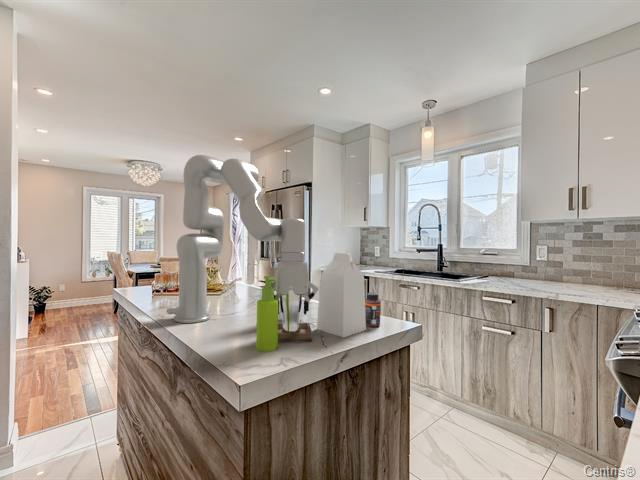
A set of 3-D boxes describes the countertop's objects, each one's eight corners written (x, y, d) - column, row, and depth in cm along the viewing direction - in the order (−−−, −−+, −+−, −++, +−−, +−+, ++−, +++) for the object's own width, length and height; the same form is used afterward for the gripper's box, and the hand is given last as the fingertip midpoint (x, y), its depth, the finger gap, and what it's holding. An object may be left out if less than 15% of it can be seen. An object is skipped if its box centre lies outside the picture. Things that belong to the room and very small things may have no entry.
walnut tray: (271, 342, 93) (271, 333, 93) (272, 330, 105) (272, 322, 105) (311, 341, 95) (312, 333, 95) (308, 330, 107) (309, 322, 107)
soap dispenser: (259, 354, 84) (261, 278, 84) (254, 345, 90) (255, 275, 90) (281, 351, 86) (282, 277, 86) (274, 343, 93) (275, 274, 92)
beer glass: (298, 336, 96) (298, 286, 96) (276, 335, 97) (276, 286, 98) (304, 330, 103) (304, 283, 103) (283, 329, 104) (283, 283, 104)
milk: (365, 330, 108) (367, 253, 107) (343, 337, 99) (344, 254, 99) (339, 323, 116) (340, 252, 116) (316, 329, 108) (318, 252, 108)
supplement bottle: (378, 328, 110) (379, 295, 110) (361, 326, 112) (362, 294, 112) (381, 324, 116) (382, 293, 116) (365, 322, 118) (365, 291, 118)
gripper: (263, 258, 95) (262, 316, 95) (321, 259, 97) (320, 316, 97) (265, 256, 103) (264, 311, 103) (318, 257, 105) (317, 310, 105)
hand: (291, 313), depth 100 cm, fingers open, 8 cm apart
